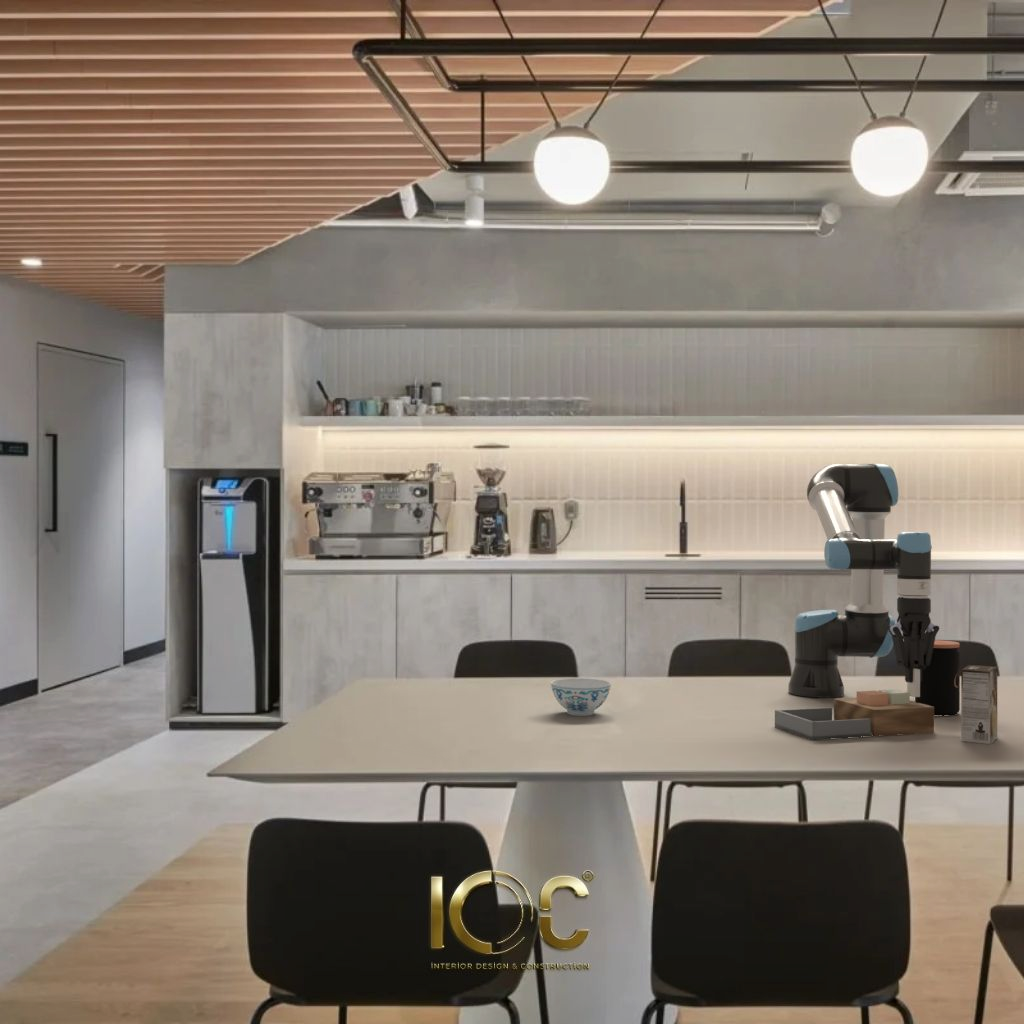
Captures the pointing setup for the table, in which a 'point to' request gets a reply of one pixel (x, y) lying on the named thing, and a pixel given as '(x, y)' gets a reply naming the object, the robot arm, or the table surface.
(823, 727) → the tray
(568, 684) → the chinaware
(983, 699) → the coffee box
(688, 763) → the table surface
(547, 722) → the table surface
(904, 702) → the sage tile
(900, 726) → the walnut board
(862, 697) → the terracotta tile
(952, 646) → the coffee jar
